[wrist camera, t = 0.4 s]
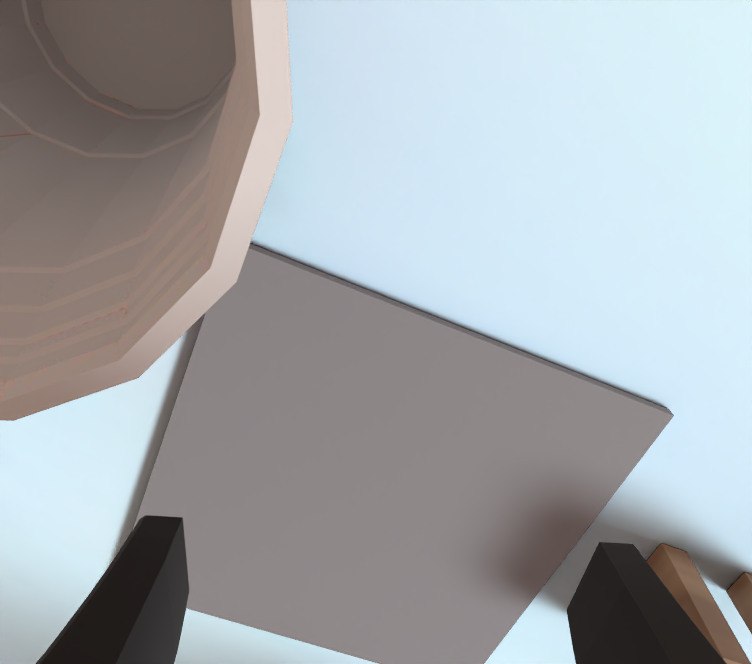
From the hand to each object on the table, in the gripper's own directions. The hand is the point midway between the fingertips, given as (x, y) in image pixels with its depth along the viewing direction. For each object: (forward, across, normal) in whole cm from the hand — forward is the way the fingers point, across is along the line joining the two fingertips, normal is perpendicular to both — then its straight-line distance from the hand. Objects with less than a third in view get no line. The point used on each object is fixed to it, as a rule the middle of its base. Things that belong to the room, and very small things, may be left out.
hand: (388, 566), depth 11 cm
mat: (+10, -1, +9) cm, 13 cm away
